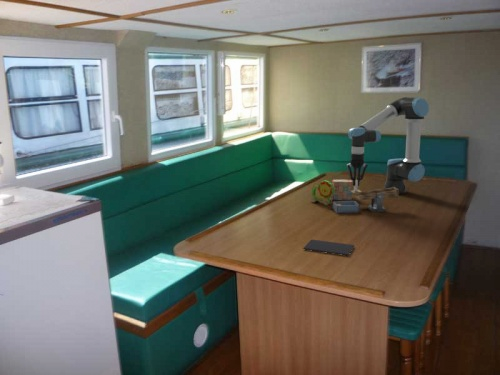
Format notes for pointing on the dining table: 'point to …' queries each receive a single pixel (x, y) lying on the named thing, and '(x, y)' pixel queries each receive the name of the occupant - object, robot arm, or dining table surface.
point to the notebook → (329, 247)
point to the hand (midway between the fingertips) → (355, 190)
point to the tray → (346, 207)
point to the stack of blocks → (342, 190)
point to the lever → (366, 195)
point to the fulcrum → (377, 203)
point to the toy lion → (323, 192)
